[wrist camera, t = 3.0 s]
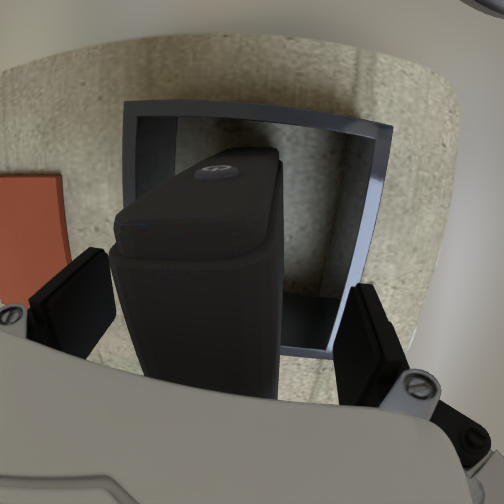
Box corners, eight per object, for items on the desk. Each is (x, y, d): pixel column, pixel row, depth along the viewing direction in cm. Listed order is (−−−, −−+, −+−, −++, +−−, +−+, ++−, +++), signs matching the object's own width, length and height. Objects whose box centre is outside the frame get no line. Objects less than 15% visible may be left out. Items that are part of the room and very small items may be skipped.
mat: (-21, 176, 22) (-27, 178, 21) (61, 174, 21) (55, 177, 20) (5, 299, 28) (1, 303, 27) (85, 326, 27) (82, 330, 27)
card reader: (218, 142, 19) (70, 216, 6) (282, 140, 19) (271, 208, 5) (228, 270, 23) (163, 458, 9) (283, 271, 22) (272, 471, 9)
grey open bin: (167, 102, 18) (123, 101, 13) (363, 122, 18) (394, 126, 12) (165, 284, 24) (135, 330, 19) (326, 305, 23) (335, 360, 18)
